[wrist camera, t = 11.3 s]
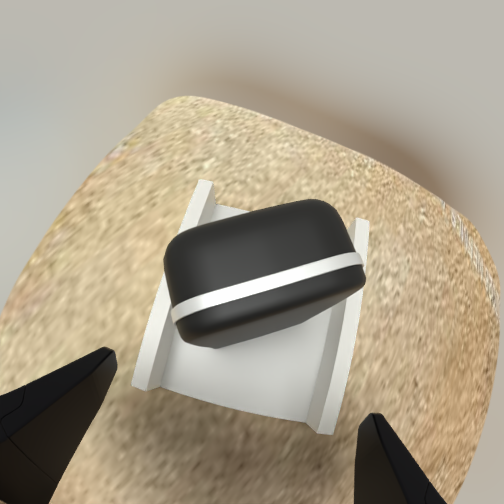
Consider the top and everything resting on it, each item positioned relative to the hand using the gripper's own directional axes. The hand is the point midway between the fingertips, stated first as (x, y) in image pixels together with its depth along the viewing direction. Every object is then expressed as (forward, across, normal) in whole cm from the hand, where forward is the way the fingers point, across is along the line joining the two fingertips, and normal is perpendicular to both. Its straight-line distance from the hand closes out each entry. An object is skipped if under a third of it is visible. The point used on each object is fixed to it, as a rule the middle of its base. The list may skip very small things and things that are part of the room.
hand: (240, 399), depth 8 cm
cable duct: (+11, 0, +4) cm, 12 cm away
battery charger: (+10, 0, +4) cm, 11 cm away
